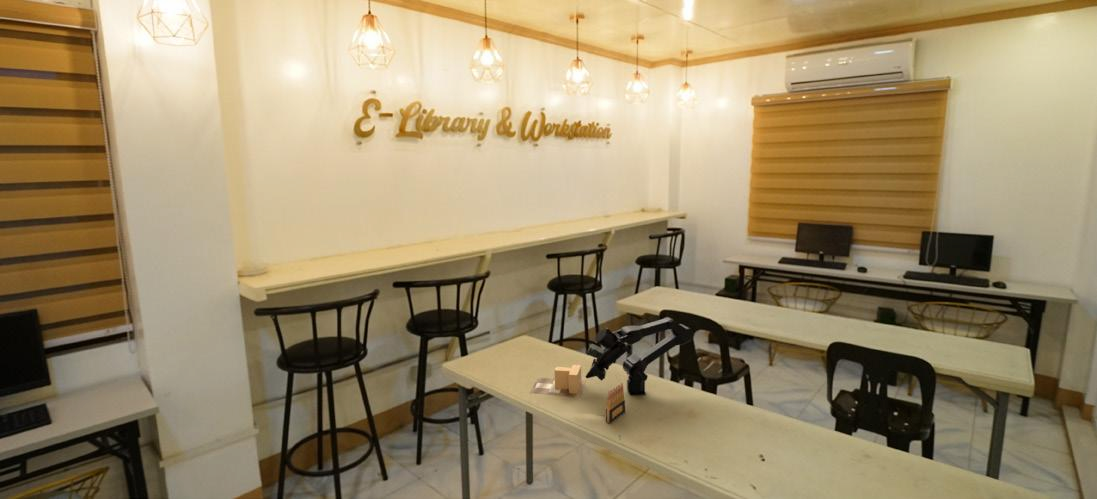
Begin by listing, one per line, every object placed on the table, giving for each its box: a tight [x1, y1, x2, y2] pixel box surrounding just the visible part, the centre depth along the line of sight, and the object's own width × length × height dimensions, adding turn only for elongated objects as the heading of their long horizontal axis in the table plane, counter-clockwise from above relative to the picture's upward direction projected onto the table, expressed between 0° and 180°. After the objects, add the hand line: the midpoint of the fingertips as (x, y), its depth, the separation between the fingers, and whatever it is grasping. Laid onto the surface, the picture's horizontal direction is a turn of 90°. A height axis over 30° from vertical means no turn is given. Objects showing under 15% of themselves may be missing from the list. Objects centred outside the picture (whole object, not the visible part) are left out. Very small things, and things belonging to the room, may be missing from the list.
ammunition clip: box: [605, 382, 626, 424], centre depth 192 cm, size 11×2×12 cm, turn 140°
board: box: [529, 377, 587, 398], centre depth 217 cm, size 21×15×2 cm
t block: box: [554, 364, 582, 394], centre depth 215 cm, size 10×10×8 cm
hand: (586, 377), depth 213 cm, fingers closed
